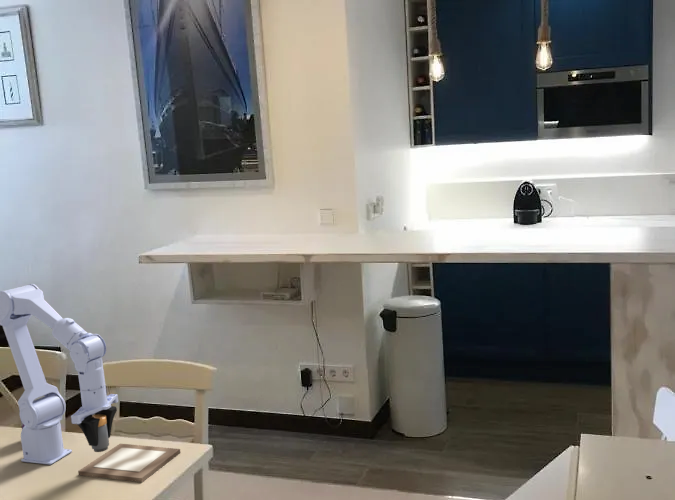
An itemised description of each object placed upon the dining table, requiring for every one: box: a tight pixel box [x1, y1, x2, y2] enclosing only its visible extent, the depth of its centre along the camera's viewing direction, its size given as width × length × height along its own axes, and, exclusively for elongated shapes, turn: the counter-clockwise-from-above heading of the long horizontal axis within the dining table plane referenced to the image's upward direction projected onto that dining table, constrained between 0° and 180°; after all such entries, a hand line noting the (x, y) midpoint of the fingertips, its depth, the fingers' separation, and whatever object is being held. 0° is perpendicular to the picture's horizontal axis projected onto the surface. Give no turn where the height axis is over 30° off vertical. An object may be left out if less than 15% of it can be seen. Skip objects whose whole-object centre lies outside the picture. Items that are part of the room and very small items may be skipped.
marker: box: [91, 414, 110, 453], centre depth 172 cm, size 4×4×8 cm
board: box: [77, 443, 181, 483], centre depth 175 cm, size 18×16×1 cm
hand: (99, 441), depth 172 cm, fingers closed on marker, 4 cm apart
